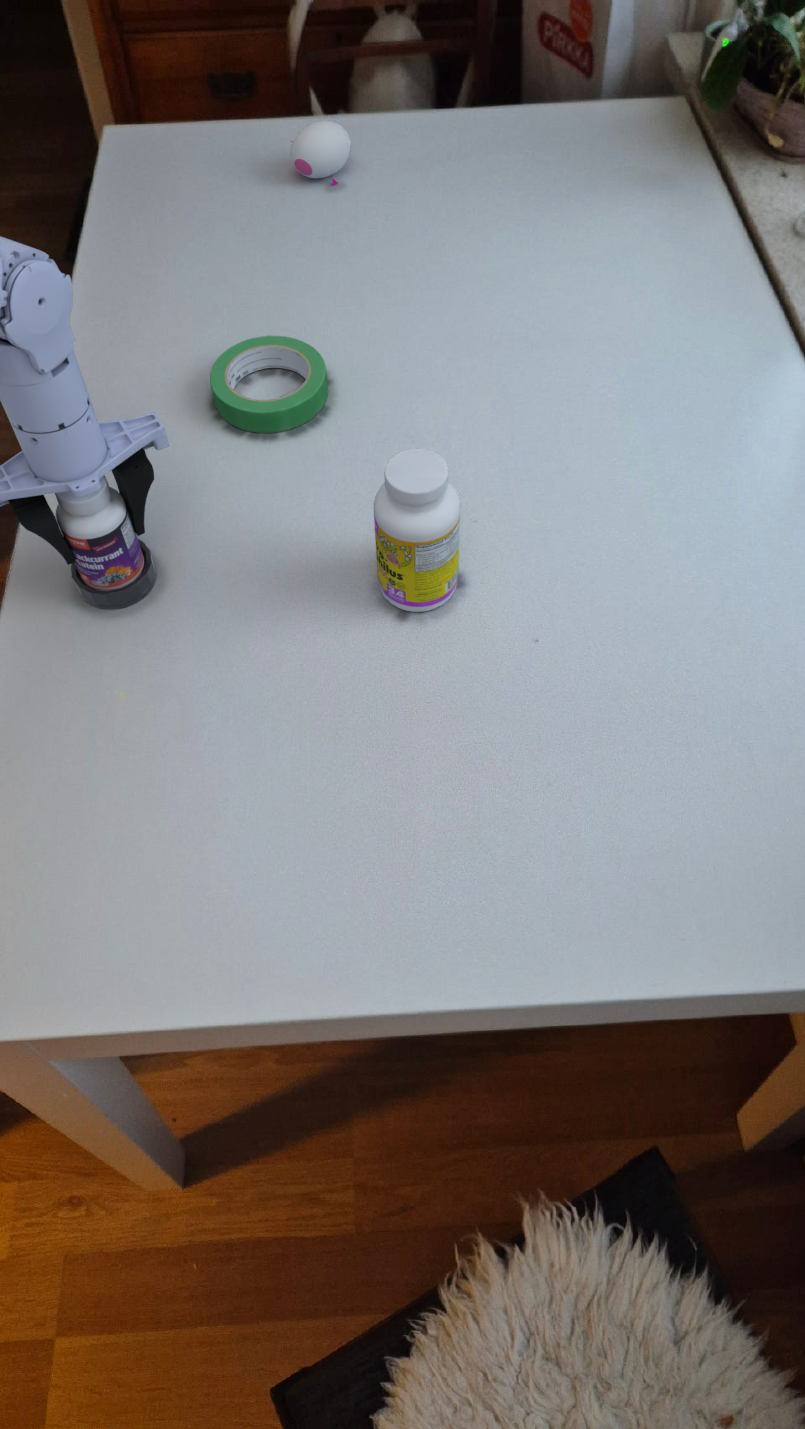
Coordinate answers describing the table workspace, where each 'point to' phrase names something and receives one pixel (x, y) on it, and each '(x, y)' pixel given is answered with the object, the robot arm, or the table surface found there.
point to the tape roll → (276, 411)
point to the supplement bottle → (417, 531)
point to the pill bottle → (100, 537)
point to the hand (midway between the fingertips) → (102, 541)
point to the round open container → (124, 594)
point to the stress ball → (320, 150)
